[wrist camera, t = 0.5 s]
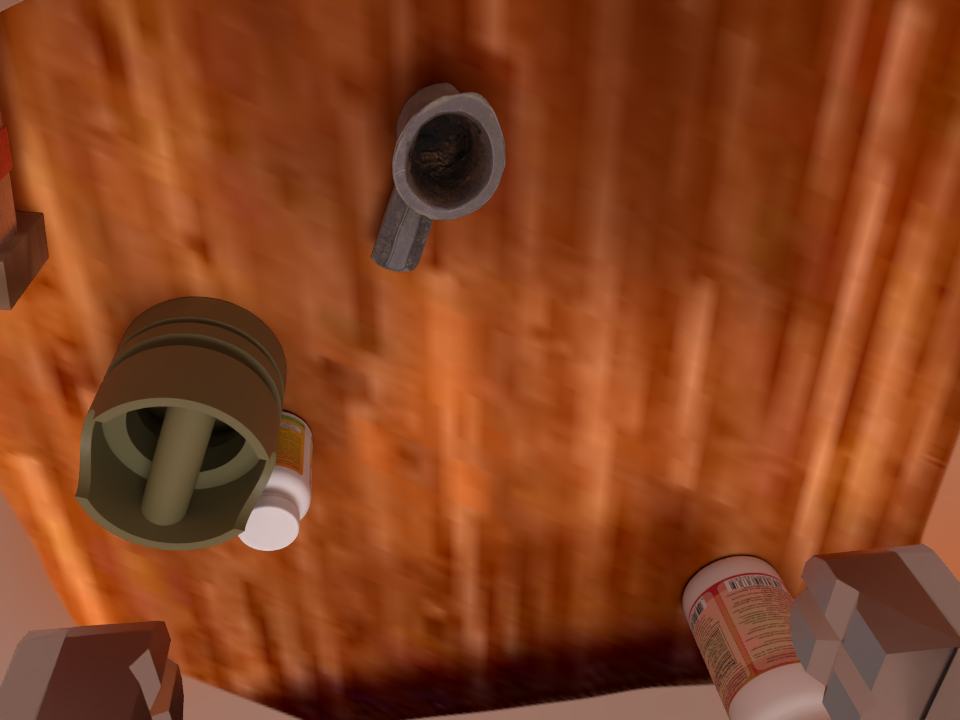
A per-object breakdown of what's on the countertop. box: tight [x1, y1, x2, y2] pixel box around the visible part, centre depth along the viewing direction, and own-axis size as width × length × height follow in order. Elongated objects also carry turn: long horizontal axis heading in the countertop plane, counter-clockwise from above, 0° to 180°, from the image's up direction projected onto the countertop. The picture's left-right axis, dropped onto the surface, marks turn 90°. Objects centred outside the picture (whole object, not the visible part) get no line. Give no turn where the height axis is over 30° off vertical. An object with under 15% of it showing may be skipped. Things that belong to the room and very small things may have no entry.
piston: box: [75, 297, 287, 550], centre depth 53 cm, size 11×12×11 cm
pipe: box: [371, 83, 505, 272], centre depth 49 cm, size 6×13×8 cm, turn 160°
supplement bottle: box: [238, 411, 313, 551], centre depth 58 cm, size 5×5×10 cm
